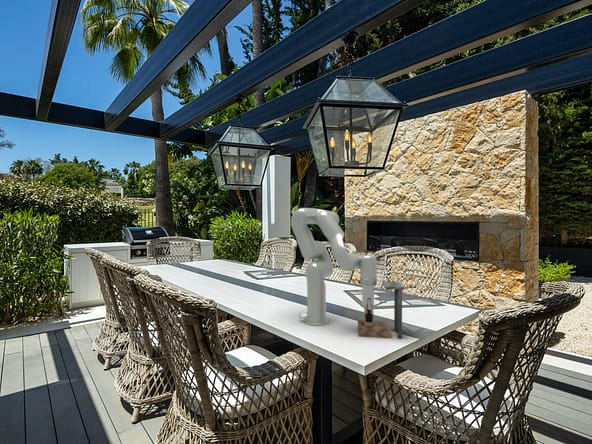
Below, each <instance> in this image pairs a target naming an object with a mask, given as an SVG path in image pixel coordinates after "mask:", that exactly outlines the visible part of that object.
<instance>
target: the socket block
mask: <svg viewBox="0 0 592 444" xmlns="http://www.w3.org/2000/svg"><path fill="white" fill-rule="evenodd" d="M382 286H383V288H384V289H385V290H394V294H393V295H394V298H393V299H394V303H393V304H394V305H393V307H394V309H393V310H394V313H393V314H394V315H393V317H394V318H393V319H394V320H393V323H394V324H393V325H394V326H393V327H394V329H393V330H394V332H397V333H396V337H397V339H398V340H399V339H400V340H402V339H403V290H404V289H405V287H404V285H403V284H402V283H401V282H400V281H399V282H398V281H382ZM357 326H358V327H357V331H358V332H357V333H358V337H360V338H361V337H363V338H376V339H377V338H378V339H379V338H380V339H392V338H391V337H392V334H391V333H392V332H391V331H392V330H391V327H390V323H389V322H388V321H387V320H373V326H364V319H357Z"/></svg>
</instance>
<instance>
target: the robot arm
mask: <svg viewBox="0 0 592 444" xmlns="http://www.w3.org/2000/svg"><path fill="white" fill-rule="evenodd" d="M339 223H340V217H339V215H338V213H337V212H335V211H332V210H326V209H320V208H315V207H313V208H312V207H311V208H310V207H300V208H297V209H296V210H295V211H294V212H293V213H292V215H291V219H290V225H291V229H292V232H293V233H294V235H295V238H296V241H297V244H298V247H299V250H300V253H301V255H302V257H303V259H305V260H308V261H309V260H310V261H311V260H313V261H311V262H310V263H308V264H307V266H306V268H305V278H306V289H307V290H306V292H307V293H306V294H307V296H306V297H307V298H306V301H307V302H306V303H307V304H306V305H307V306H306V307H307V312H305V313H301V312H300V313H299V312H298V313H299V314H298V317H299V318H300V319H304V320H303V321H304V322H303V323H304V324H306V325H308V326H314V327H322V326H326V325H328V324H329V322H330V321H329V319H328V318H327V317H326V316H327V315H326V314H327V312H326V311H327V310H326V309H327V308H326V305H327V302H326V301H327V300H326V299H327V298H326V296H327V294H326V293H327V292H326V291H327V290H326V289H327V287H326V283H325V279H326V278H328V277H330V276H331V275H333V273H334V265H333V261H332V259H331V256H330V254H329V252H328V249H327V248H328V247H327V246H326V245H325V243H324V242H322V241H319V240H315V239H314V236H313V234H312V231H311V230H310V229H309V227H308V225H318V227H319V228H320V230H321V232H322V233H323V234H324V236H325V238H326V239H327V240H328V242H329V245H330V246H329V247H330V251H331V253H332V256H333V258H334V260H335V261H336V262H337V264H338V265H339V267H340V268H341V269H343V271H346V272H351V271H354V270H359V275H360V276H359V278H360V280H359V282H360V283H359V285H360V286H362V287H361V290H362V292H361V293H362V295H361V299H362V300H361V303H362V307H363V308H364V306H365V307H366V313H365V321H366V322H373V321H374V313H373V314H372V307H373V308H374V307H375V306H374V305H375V304H374V303H375V286H377V284H378V282H377V281H378V280H377V277H378V275H377V274H378V273H377V270H378V268H377V264H378V263H377V257H376V256H375V255H372V254H361V253H349V252H348V250H347V248H346V247H345V244H344V237H345V232H344V230H342V228H341V226H340V225H339ZM367 305H368V307H367ZM367 308H368V309H367Z"/></svg>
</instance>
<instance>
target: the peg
mask: <svg viewBox="0 0 592 444" xmlns="http://www.w3.org/2000/svg"><path fill="white" fill-rule="evenodd" d="M367 307H368V305H367ZM367 309H368V308H367ZM365 313H366V307H365V306H364V307H363V314H364V315H363V320H364V326H373V322H366V321H365ZM372 314H373V315H374V307H372Z"/></svg>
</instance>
